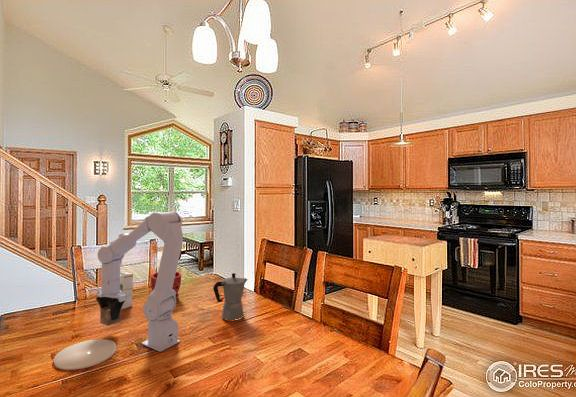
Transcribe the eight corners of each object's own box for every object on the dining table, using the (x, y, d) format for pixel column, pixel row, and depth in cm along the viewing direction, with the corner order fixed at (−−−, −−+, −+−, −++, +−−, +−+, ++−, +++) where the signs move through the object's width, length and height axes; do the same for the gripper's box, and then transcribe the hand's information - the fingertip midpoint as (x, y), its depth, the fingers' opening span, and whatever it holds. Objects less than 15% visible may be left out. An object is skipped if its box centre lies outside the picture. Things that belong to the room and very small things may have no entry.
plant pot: (144, 302, 140) (144, 276, 140) (163, 293, 153) (164, 269, 152) (168, 306, 136) (168, 279, 136) (186, 297, 149) (187, 272, 148)
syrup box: (111, 307, 133) (112, 274, 133) (124, 303, 138) (125, 271, 138) (120, 310, 131) (120, 276, 130) (133, 305, 136) (133, 273, 135)
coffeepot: (240, 309, 135) (241, 268, 134) (252, 316, 127) (253, 273, 127) (207, 318, 125) (208, 273, 125) (218, 326, 118) (219, 279, 117)
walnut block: (120, 321, 111) (120, 307, 110) (107, 325, 107) (107, 311, 106) (113, 318, 113) (113, 304, 113) (100, 322, 109) (100, 308, 109)
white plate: (126, 351, 98) (126, 347, 98) (71, 376, 84) (71, 372, 84) (98, 337, 106) (98, 335, 106) (43, 359, 92) (43, 355, 92)
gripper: (87, 278, 110) (87, 316, 110) (111, 285, 102) (111, 326, 103) (107, 274, 116) (107, 310, 116) (131, 280, 108) (131, 319, 109)
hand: (110, 317), depth 110 cm, fingers closed on walnut block, 5 cm apart
